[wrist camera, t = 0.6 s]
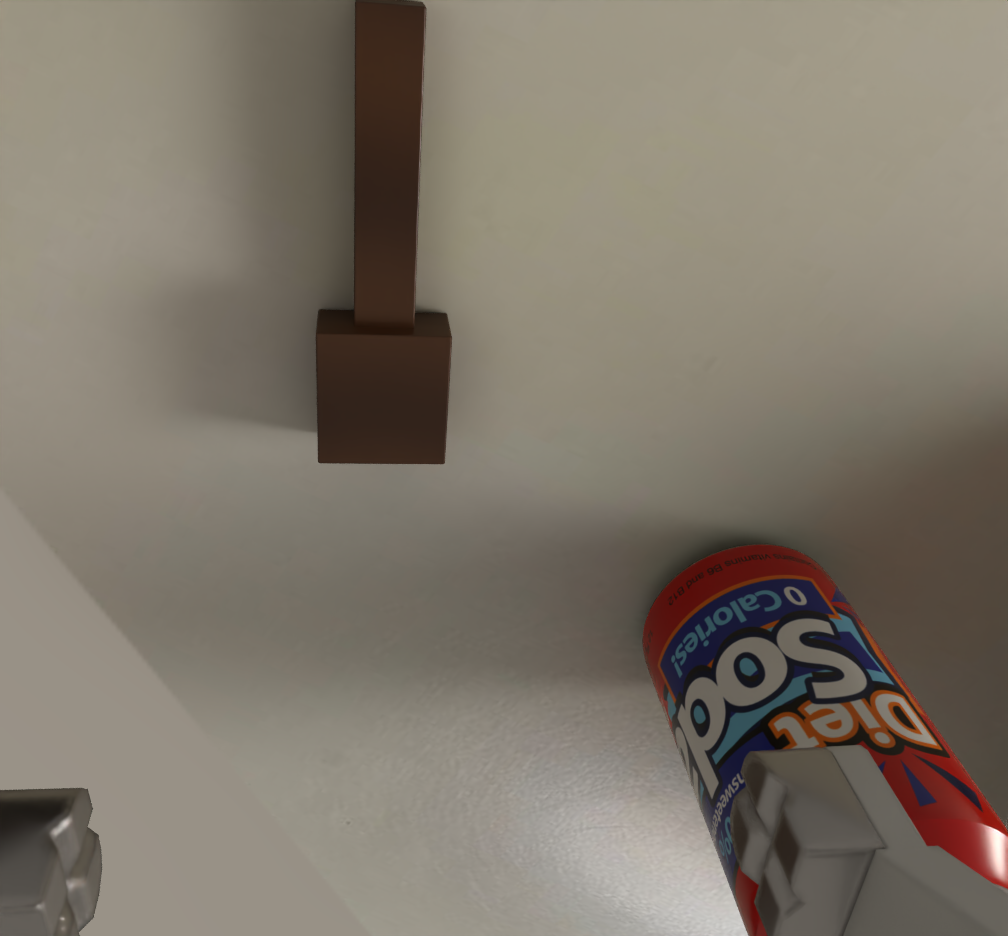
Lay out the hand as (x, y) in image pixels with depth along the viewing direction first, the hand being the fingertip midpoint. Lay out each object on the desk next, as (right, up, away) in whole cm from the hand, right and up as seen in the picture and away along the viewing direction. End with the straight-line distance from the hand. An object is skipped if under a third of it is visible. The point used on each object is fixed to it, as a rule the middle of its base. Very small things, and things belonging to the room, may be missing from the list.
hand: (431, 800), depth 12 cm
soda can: (+10, -1, +26) cm, 28 cm away
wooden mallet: (-3, +11, +17) cm, 20 cm away
